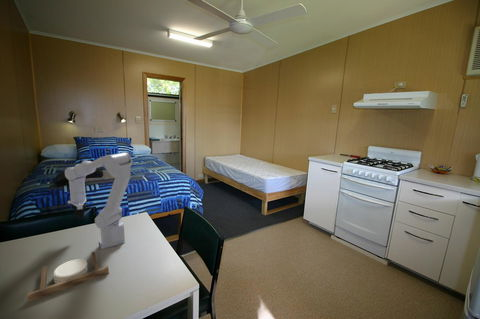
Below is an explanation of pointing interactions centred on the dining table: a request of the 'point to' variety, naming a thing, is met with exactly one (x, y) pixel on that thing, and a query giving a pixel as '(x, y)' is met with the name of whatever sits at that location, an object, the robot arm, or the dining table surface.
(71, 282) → the walnut bay
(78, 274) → the white round dish
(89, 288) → the dining table surface
